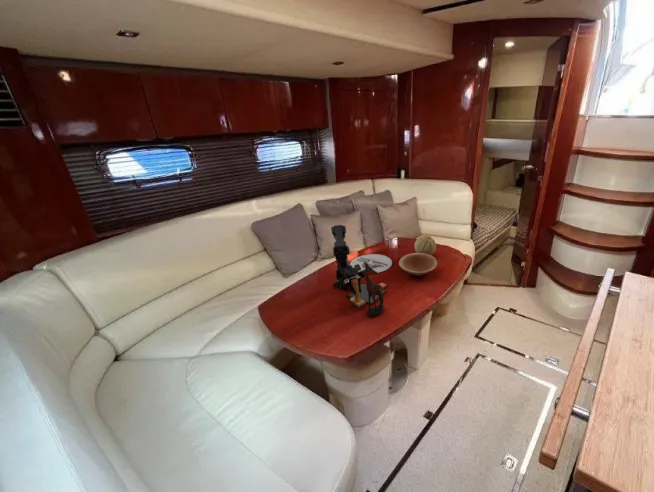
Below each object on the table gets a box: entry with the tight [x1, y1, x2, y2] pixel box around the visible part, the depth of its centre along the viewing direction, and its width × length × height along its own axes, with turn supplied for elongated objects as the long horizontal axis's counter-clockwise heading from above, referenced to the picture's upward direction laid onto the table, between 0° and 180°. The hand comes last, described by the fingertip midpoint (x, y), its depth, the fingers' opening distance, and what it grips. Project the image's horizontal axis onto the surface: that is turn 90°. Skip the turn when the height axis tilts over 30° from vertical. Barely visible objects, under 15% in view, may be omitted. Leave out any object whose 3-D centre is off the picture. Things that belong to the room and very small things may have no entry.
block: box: [377, 282, 388, 289], centre depth 176 cm, size 4×4×1 cm
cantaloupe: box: [413, 235, 437, 256], centre depth 207 cm, size 15×15×15 cm
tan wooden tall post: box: [349, 279, 367, 310], centre depth 155 cm, size 8×4×15 cm, turn 45°
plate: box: [349, 253, 393, 274], centre depth 202 cm, size 28×28×1 cm
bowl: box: [398, 252, 438, 277], centre depth 189 cm, size 24×24×8 cm
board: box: [347, 283, 386, 306], centre depth 169 cm, size 16×14×1 cm
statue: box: [364, 262, 384, 318], centre depth 147 cm, size 12×7×30 cm, turn 139°
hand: (358, 293), depth 154 cm, fingers closed on tan wooden tall post, 3 cm apart
